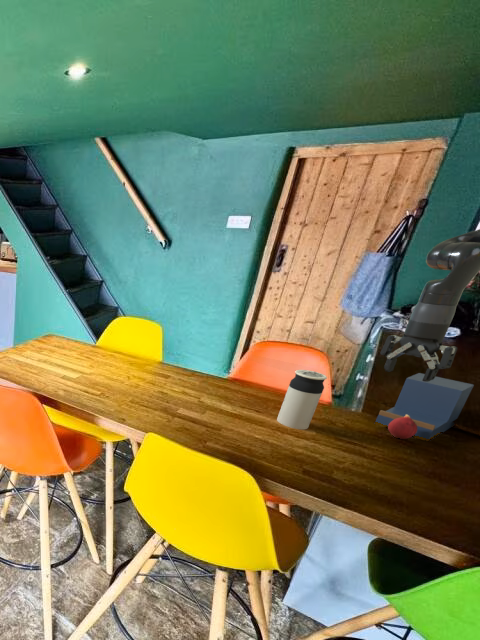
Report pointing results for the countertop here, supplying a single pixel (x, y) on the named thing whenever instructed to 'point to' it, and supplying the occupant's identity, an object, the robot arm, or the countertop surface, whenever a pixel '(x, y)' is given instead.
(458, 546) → the countertop surface
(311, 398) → the travel mug
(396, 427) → the onion
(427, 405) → the stand
